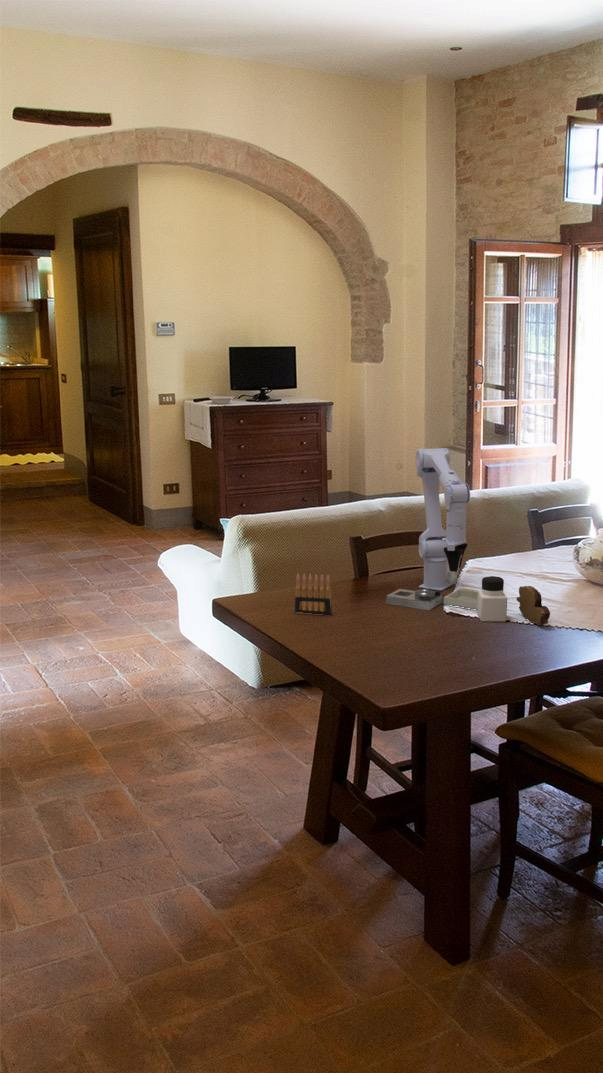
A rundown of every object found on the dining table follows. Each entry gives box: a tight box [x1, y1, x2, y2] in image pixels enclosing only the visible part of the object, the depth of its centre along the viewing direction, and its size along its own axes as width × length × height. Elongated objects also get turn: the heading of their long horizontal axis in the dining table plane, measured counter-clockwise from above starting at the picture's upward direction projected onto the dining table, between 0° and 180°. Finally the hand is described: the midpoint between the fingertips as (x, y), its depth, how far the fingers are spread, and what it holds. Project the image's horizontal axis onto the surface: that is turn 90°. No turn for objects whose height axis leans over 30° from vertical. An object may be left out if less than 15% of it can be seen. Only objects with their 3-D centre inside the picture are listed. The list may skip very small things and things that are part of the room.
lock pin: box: [445, 554, 462, 585], centre depth 293 cm, size 4×4×9 cm
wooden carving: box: [516, 585, 551, 626], centre depth 276 cm, size 16×5×10 cm, turn 18°
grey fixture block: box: [385, 588, 443, 611], centre depth 295 cm, size 9×14×5 cm, turn 58°
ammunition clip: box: [294, 572, 333, 616], centre depth 285 cm, size 11×2×12 cm, turn 77°
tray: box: [443, 588, 478, 611], centre depth 295 cm, size 11×11×2 cm
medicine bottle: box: [476, 575, 508, 623], centre depth 279 cm, size 7×7×12 cm
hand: (455, 569), depth 293 cm, fingers closed on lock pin, 4 cm apart
